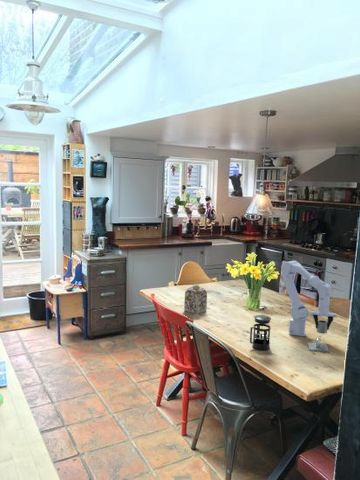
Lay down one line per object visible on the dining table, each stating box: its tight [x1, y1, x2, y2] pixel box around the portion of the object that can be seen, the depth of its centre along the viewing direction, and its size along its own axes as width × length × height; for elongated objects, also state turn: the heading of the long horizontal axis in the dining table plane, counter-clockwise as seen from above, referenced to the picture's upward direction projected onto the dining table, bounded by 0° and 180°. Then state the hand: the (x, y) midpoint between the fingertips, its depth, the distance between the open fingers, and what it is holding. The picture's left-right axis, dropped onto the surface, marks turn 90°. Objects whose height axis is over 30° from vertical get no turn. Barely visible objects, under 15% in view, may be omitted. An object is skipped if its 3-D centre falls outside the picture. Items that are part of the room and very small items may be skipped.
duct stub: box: [307, 337, 330, 354], centre depth 221 cm, size 10×10×5 cm
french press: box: [249, 305, 272, 352], centre depth 219 cm, size 12×9×23 cm
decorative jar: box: [183, 284, 208, 315], centre depth 281 cm, size 12×12×18 cm
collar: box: [316, 319, 328, 335], centre depth 230 cm, size 5×5×6 cm
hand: (322, 328), depth 230 cm, fingers closed on collar, 5 cm apart
